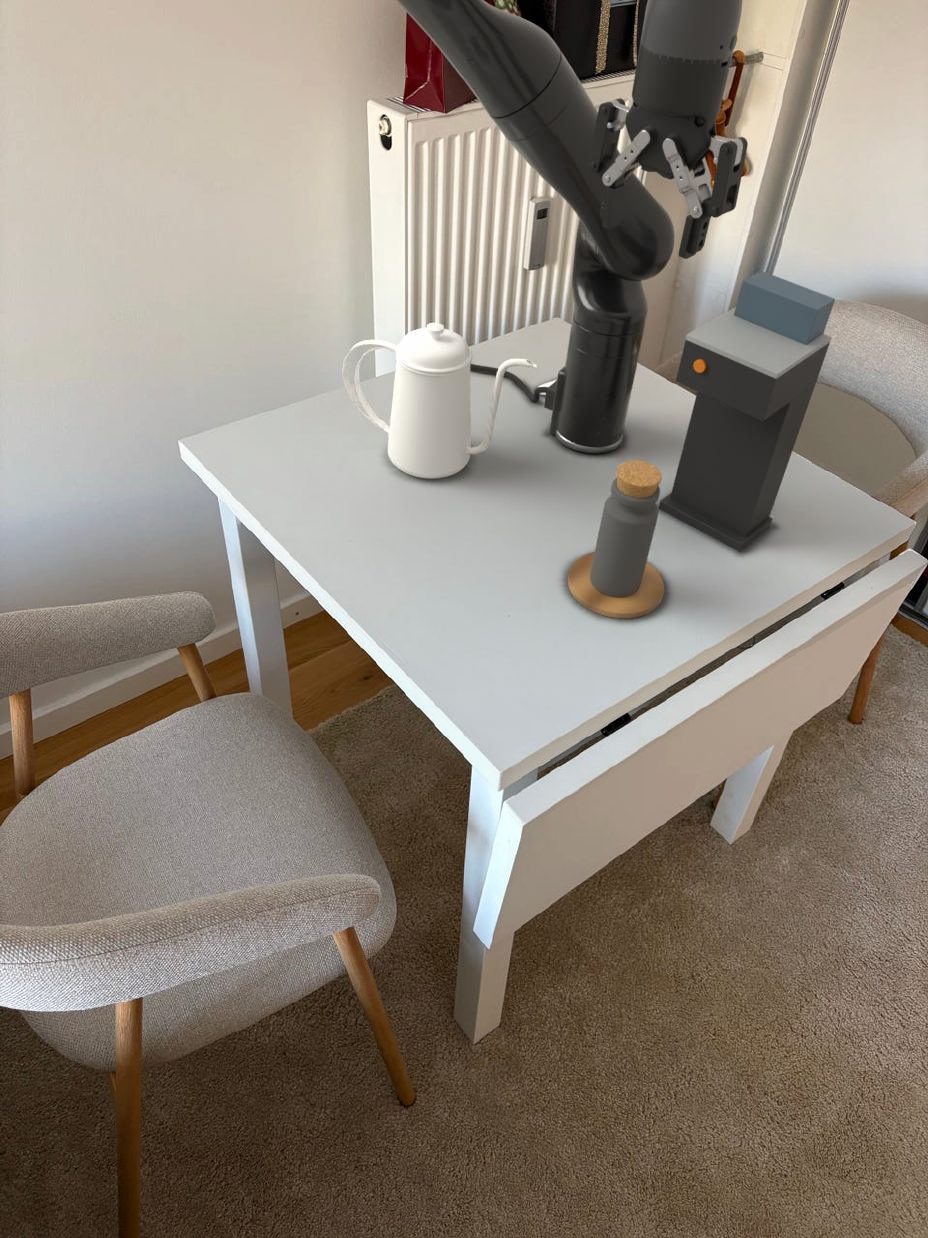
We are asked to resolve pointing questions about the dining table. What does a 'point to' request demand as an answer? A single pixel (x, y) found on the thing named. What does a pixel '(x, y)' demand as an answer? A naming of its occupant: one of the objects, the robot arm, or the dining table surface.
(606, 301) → the robot arm
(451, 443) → the coffeepot
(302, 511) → the dining table surface
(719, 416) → the coffee maker
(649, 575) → the disc
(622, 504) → the bottle
